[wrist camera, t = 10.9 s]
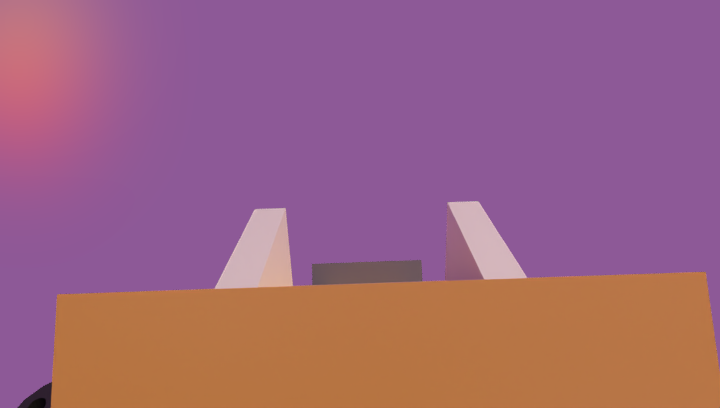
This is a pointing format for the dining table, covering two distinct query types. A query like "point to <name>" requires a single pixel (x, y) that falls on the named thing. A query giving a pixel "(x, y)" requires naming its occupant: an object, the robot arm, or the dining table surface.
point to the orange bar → (393, 343)
